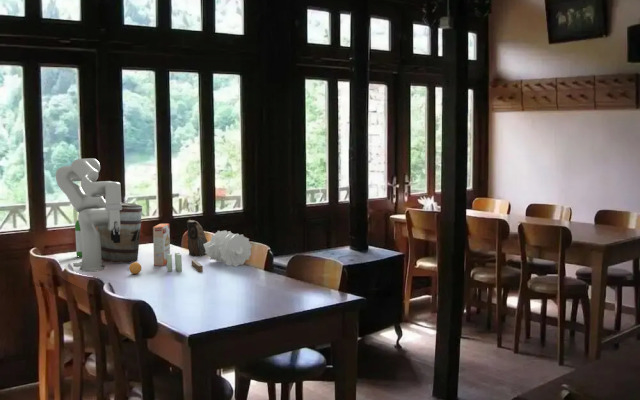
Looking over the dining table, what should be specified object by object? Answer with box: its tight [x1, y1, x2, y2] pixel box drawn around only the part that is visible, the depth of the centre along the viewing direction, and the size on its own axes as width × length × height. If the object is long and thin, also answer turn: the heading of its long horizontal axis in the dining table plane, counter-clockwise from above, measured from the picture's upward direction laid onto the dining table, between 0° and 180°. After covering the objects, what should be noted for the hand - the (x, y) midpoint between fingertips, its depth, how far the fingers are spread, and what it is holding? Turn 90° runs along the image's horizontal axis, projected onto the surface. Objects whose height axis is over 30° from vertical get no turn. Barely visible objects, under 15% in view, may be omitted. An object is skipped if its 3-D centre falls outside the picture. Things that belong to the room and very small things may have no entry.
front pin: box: [166, 253, 173, 272], centre depth 351 cm, size 2×2×8 cm
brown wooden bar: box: [190, 259, 204, 273], centre depth 356 cm, size 2×18×3 cm, turn 22°
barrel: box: [97, 202, 143, 264], centre depth 378 cm, size 22×22×30 cm
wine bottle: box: [74, 212, 82, 258], centre depth 392 cm, size 8×8×30 cm
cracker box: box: [152, 223, 171, 267], centre depth 370 cm, size 14×6×21 cm, turn 179°
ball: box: [128, 261, 142, 275], centre depth 344 cm, size 6×6×6 cm
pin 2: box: [176, 253, 183, 273], centre depth 350 cm, size 2×2×8 cm
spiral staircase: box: [203, 230, 253, 267], centre depth 367 cm, size 18×18×25 cm
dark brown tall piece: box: [186, 219, 209, 258], centre depth 395 cm, size 13×13×20 cm
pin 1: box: [174, 252, 181, 271], centre depth 355 cm, size 2×2×8 cm
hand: (115, 241), depth 340 cm, fingers open, 9 cm apart
